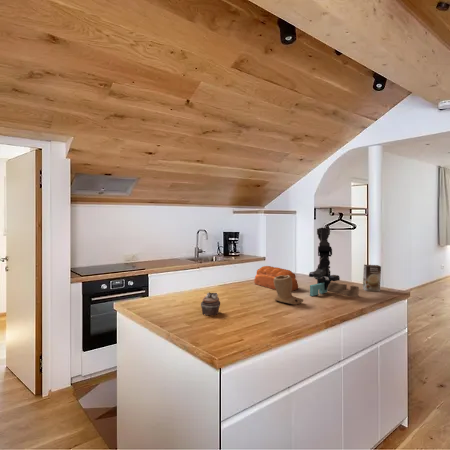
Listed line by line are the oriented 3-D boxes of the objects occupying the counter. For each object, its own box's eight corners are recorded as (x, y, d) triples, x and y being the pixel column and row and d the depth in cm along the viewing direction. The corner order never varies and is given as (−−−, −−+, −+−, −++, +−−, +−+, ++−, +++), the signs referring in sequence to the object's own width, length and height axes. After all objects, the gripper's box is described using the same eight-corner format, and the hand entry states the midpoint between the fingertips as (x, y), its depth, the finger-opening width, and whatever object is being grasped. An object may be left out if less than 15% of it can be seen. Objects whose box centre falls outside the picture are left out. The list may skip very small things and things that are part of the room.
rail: (324, 290, 222) (324, 281, 222) (326, 290, 223) (326, 280, 223) (356, 297, 205) (356, 287, 205) (358, 296, 206) (358, 286, 206)
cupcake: (201, 310, 177) (201, 290, 176) (220, 310, 176) (220, 291, 176) (199, 316, 167) (199, 295, 167) (219, 316, 167) (219, 295, 166)
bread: (268, 281, 251) (268, 263, 250) (301, 289, 225) (301, 269, 225) (251, 283, 242) (251, 265, 241) (284, 292, 216) (284, 272, 215)
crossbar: (312, 295, 206) (312, 285, 206) (309, 295, 207) (309, 285, 207) (327, 292, 215) (327, 282, 215) (324, 291, 217) (324, 282, 217)
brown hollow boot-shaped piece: (268, 301, 195) (269, 274, 194) (283, 298, 202) (283, 272, 201) (289, 307, 183) (289, 279, 182) (304, 303, 190) (304, 276, 189)
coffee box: (365, 291, 221) (366, 266, 221) (362, 288, 228) (363, 264, 227) (380, 291, 220) (381, 266, 220) (377, 289, 227) (377, 264, 226)
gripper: (303, 264, 216) (303, 289, 217) (329, 268, 202) (329, 294, 202) (314, 262, 223) (314, 286, 224) (340, 266, 209) (339, 292, 209)
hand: (323, 289), depth 215 cm, fingers closed on crossbar, 2 cm apart
